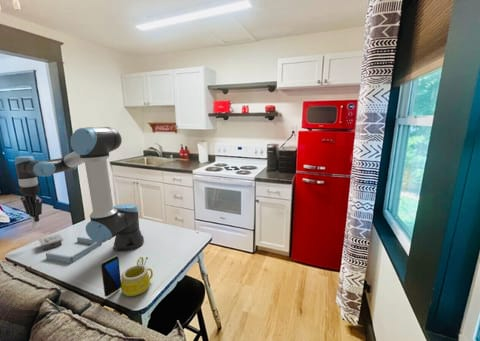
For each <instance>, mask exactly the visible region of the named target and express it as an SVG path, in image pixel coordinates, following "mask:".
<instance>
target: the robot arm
mask: <svg viewBox="0 0 480 341" xmlns="http://www.w3.org/2000/svg"><path fill="white" fill-rule="evenodd" d="M122 141H123V140H122V136H121V133H120V132H119V130H116V129H115V128H113V127H110V126H104V127H101V126H100V127H99V126H98V127H97V126H96V127H95V126H94V127H93V126H91V127H90V126H89V127H88V126H87V127H79V128H78V129H76V130H75V131H74V132H73V133H72V134H71V137H70V147H71V149H72V150H73V151H72V152H70V153H68V154H66V155H64V156H63V157H59V158H53V159H45V160H35V157H34V156H32V155H21V156H17V157H15V158H14V165H15V170H16V175H17V180H18V186H19V191H20V194H21V195H23V196H20V200H21V202H22V204H23V207H24V211H25V212H26V215H28V216H29V217H30V220H31V226H32V228H34V229H36V228H39V227H41V223H40V216H41V215H42V212H43V211H42V210H43V208H42V207H43V201H44V198H42V197H41V198H40V197H39V194H38V192H40V185H39V180H38V177H50V176H52V175H53V174H57V173H63V172H69V171H73V170H76V169H78V167H79V166H80V165H82V164H84V165H85V170H86V177H87V183H88V184H87V185H88V190H89V197H90V201H91V203H90V204H91V208H92V212H91V213H90V214H89V218H90V221H89V222H87V224H86V226H85V233H86V234H87V237H88V238H90V239H92V240H93V241H95V242H98V243H102V244H103V243H105V242H108V241H110V240H111V239H112V238H114V241H113V248H114V250H115V251H116V252H117V251H118V252H128V251H134V250H136V249H138V248H140V247H142V246H143V245H144V243H145V240H144V238H145V237H144V235H142V234H143V233H142V232H141V229H140V219H139V208H138V206H137V205H136V204H133V203H121V204H116V205H114V204H113V196H112V189H111V188H112V187H111V183H110V182H111V180H110V175H109V169H108V162H107V159H108V158H109V157H110V153H111V152H113V151H115V150H117V149H119V148H120V146H121V145H122Z"/></svg>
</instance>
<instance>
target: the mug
mask: <svg viewBox="0 0 480 341" xmlns="http://www.w3.org/2000/svg"><path fill="white" fill-rule="evenodd" d="M148 259H149V256H146V258H145V261H144V257H142V256H139V257H138V259H137V260H136V265H134V266H133V265H132V266H129V267H128V268H126V269H125V270H124V271H123V272H122V273H121V274H120V277H121V288H120V290H121V293H122V294H123V295H124V296H127V297H134V296H138V295H140V294H143V293H144V292H146V290H148V288H149V287H150V284H151V279H152V278H153V276H154V275H153V274H154V272H153V270H152V268H150V267H149V268H147V266H145V265H146V263H147V260H148ZM148 271H149V272H150V275H149V272H148Z"/></svg>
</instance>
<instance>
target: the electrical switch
mask: <svg viewBox="0 0 480 341" xmlns="http://www.w3.org/2000/svg"><path fill="white" fill-rule="evenodd" d="M63 240H64V239H63V237H62V235H61V234H60V233H57V234H54V235H50V236H46V237H43V238H39V239H38V241H39V243H40V246H41V247H42V248H43V251H46V250H50V249H52V248H57V247H60V246H62V241H63Z"/></svg>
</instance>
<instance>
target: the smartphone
mask: <svg viewBox="0 0 480 341" xmlns="http://www.w3.org/2000/svg"><path fill="white" fill-rule="evenodd" d="M100 269H101V277H102V284H103V286H102V287H103V292H104V293H103V294H104V297H106V298H107V297H109V296H111V295H112V294H114V293H116V292H117V291H119V290H121V280H122V278H121V271H120V270H121V269H120V260H119V256H118V255H113V256H112V257H110V258H108V259H106V260H104V261H102V262H101V263H100Z"/></svg>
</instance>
